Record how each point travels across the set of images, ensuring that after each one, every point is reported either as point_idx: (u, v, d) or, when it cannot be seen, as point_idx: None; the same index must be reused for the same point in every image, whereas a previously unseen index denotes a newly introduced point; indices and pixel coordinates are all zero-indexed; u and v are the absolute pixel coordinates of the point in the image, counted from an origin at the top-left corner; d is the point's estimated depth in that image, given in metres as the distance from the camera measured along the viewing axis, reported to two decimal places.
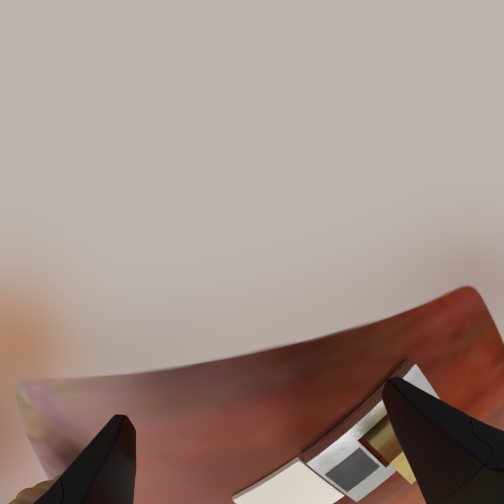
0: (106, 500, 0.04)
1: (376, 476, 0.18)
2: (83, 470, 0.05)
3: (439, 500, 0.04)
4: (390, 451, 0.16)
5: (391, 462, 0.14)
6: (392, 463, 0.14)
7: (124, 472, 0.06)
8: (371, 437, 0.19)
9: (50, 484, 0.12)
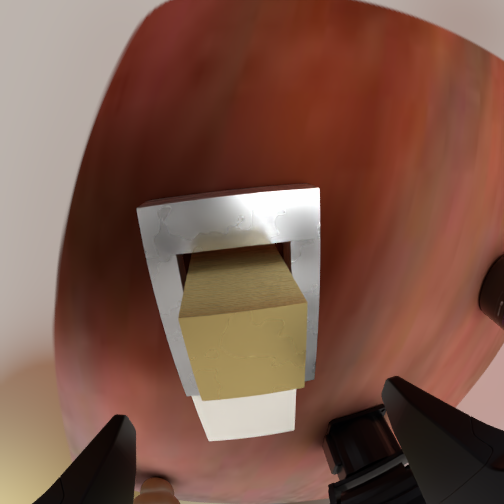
0: (106, 500, 0.04)
1: None
2: (83, 470, 0.05)
3: (439, 499, 0.04)
4: None
5: (204, 398, 0.11)
6: (207, 398, 0.11)
7: (124, 472, 0.06)
8: None
9: None
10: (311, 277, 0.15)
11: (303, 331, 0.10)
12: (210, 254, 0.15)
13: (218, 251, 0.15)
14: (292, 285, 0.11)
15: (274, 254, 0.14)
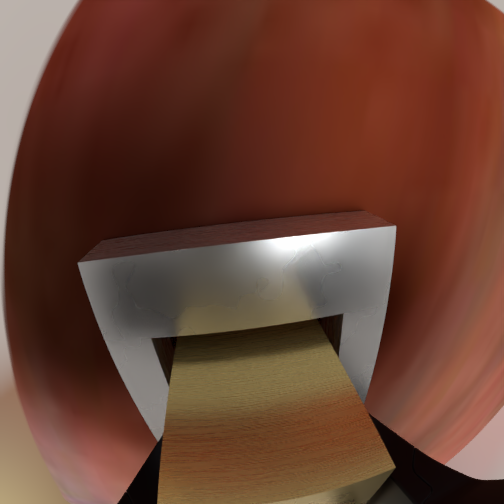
0: None
1: None
2: (151, 479, 0.05)
3: None
4: None
5: None
6: None
7: None
8: None
9: None
10: (365, 358, 0.09)
11: (374, 489, 0.04)
12: None
13: None
14: (363, 422, 0.05)
15: (316, 335, 0.08)
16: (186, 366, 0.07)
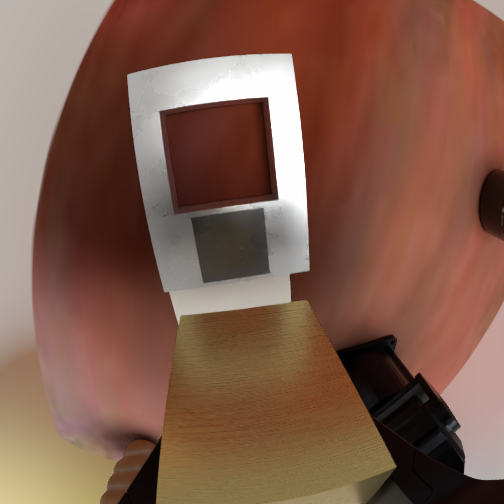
0: None
1: (282, 221, 0.16)
2: (151, 480, 0.05)
3: None
4: None
5: None
6: None
7: None
8: None
9: (107, 485, 0.18)
10: (292, 134, 0.14)
11: (375, 489, 0.04)
12: (208, 329, 0.09)
13: (222, 322, 0.09)
14: (363, 422, 0.05)
15: (316, 334, 0.08)
16: (185, 365, 0.07)
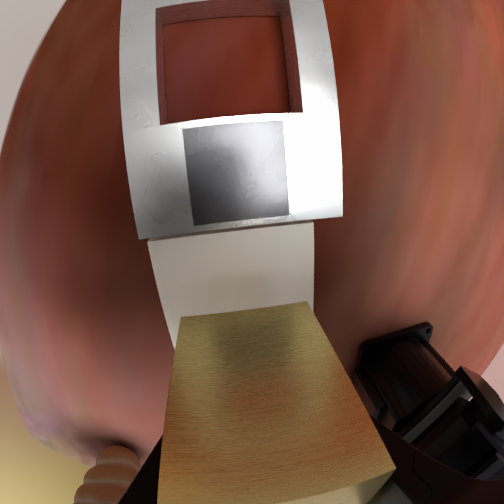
0: None
1: (307, 141, 0.11)
2: (151, 480, 0.05)
3: None
4: None
5: None
6: None
7: None
8: None
9: (74, 497, 0.12)
10: (319, 39, 0.09)
11: (375, 490, 0.04)
12: (209, 330, 0.09)
13: (222, 323, 0.09)
14: (363, 423, 0.05)
15: (317, 336, 0.08)
16: (186, 367, 0.07)
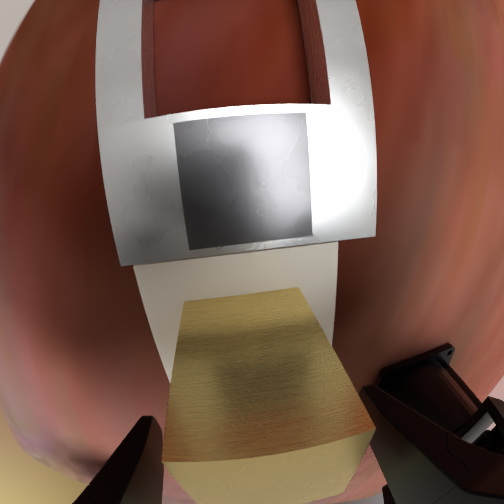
0: None
1: (336, 141, 0.08)
2: (113, 475, 0.05)
3: None
4: None
5: None
6: None
7: (153, 475, 0.06)
8: None
9: None
10: (347, 16, 0.07)
11: (359, 454, 0.05)
12: (209, 312, 0.10)
13: (222, 306, 0.10)
14: (346, 388, 0.06)
15: (306, 315, 0.09)
16: (189, 342, 0.08)
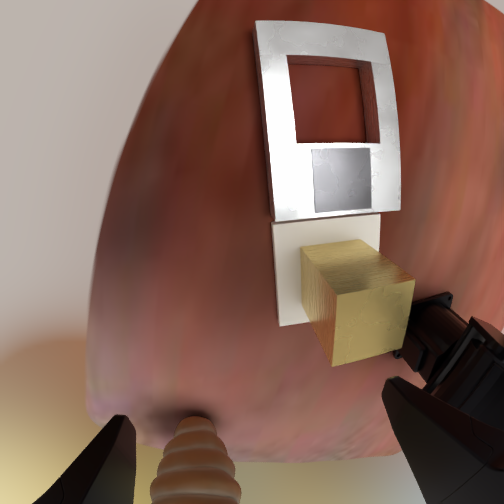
0: (106, 500, 0.04)
1: (382, 162, 0.16)
2: (83, 469, 0.05)
3: (439, 500, 0.04)
4: (326, 345, 0.15)
5: (333, 364, 0.14)
6: (336, 363, 0.14)
7: (124, 472, 0.06)
8: (310, 317, 0.18)
9: None
10: (389, 93, 0.15)
11: (410, 300, 0.13)
12: (319, 249, 0.18)
13: (324, 247, 0.19)
14: (398, 269, 0.14)
15: (370, 249, 0.17)
16: (317, 260, 0.17)
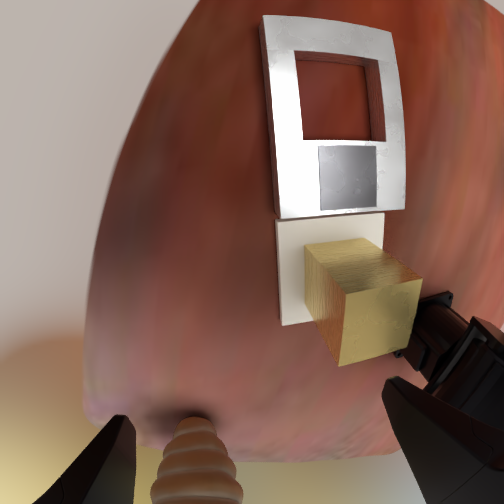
0: (106, 500, 0.04)
1: (388, 160, 0.16)
2: (83, 469, 0.05)
3: (439, 500, 0.04)
4: (332, 345, 0.15)
5: (340, 363, 0.14)
6: (343, 363, 0.14)
7: (124, 472, 0.06)
8: (314, 316, 0.18)
9: None
10: (395, 91, 0.15)
11: (417, 299, 0.13)
12: (323, 247, 0.18)
13: (328, 245, 0.18)
14: (405, 268, 0.14)
15: (375, 247, 0.17)
16: (323, 258, 0.16)
